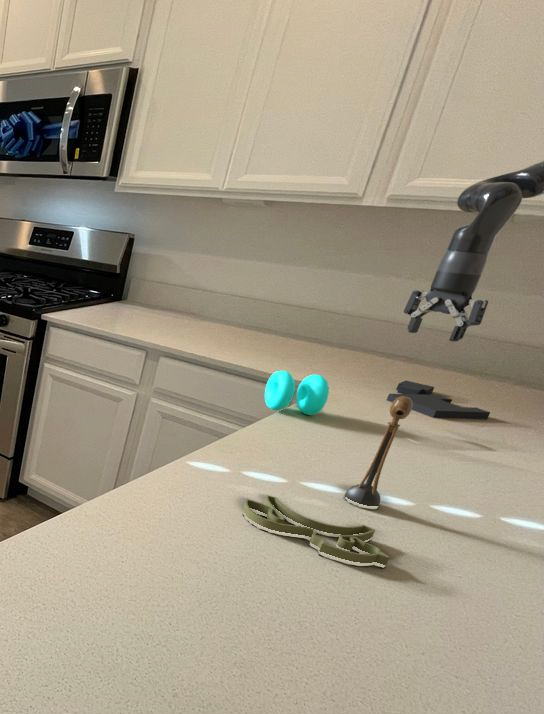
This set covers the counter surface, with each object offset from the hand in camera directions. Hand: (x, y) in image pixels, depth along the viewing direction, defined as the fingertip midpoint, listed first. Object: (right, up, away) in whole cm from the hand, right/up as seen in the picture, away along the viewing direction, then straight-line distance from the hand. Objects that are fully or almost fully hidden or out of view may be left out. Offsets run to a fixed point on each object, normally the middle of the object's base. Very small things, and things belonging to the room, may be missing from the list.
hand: (432, 336), depth 145 cm
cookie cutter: (-75, -37, -53) cm, 99 cm away
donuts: (-35, -19, +1) cm, 40 cm away
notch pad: (+3, -20, +3) cm, 20 cm away
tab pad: (+10, -15, +15) cm, 24 cm away
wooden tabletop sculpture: (-57, -34, -43) cm, 79 cm away
